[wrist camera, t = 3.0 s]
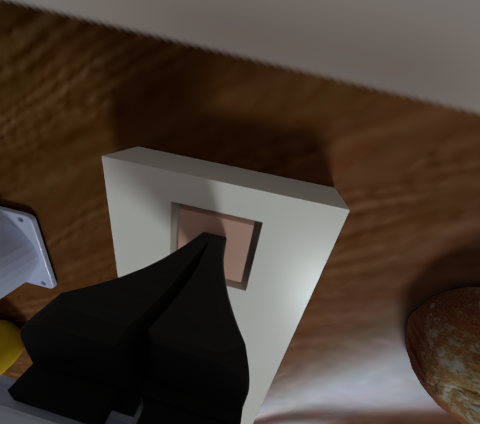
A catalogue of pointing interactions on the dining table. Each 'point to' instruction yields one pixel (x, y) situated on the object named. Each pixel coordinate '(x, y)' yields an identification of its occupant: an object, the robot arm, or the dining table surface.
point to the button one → (223, 225)
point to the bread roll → (448, 351)
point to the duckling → (9, 344)
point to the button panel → (260, 249)
